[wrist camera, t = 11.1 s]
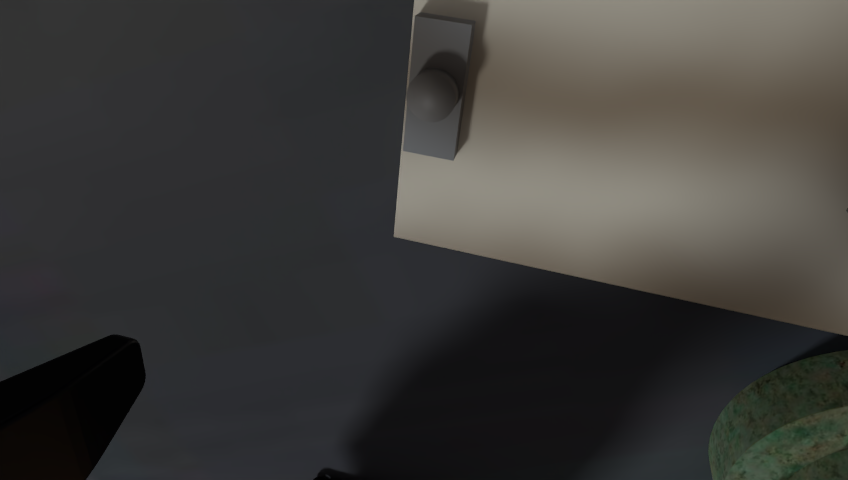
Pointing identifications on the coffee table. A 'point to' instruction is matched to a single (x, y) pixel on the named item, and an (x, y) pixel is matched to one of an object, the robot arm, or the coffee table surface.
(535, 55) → the tie-down board
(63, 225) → the coffee table surface
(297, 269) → the coffee table surface
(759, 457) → the decorative artifact
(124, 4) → the coffee table surface
